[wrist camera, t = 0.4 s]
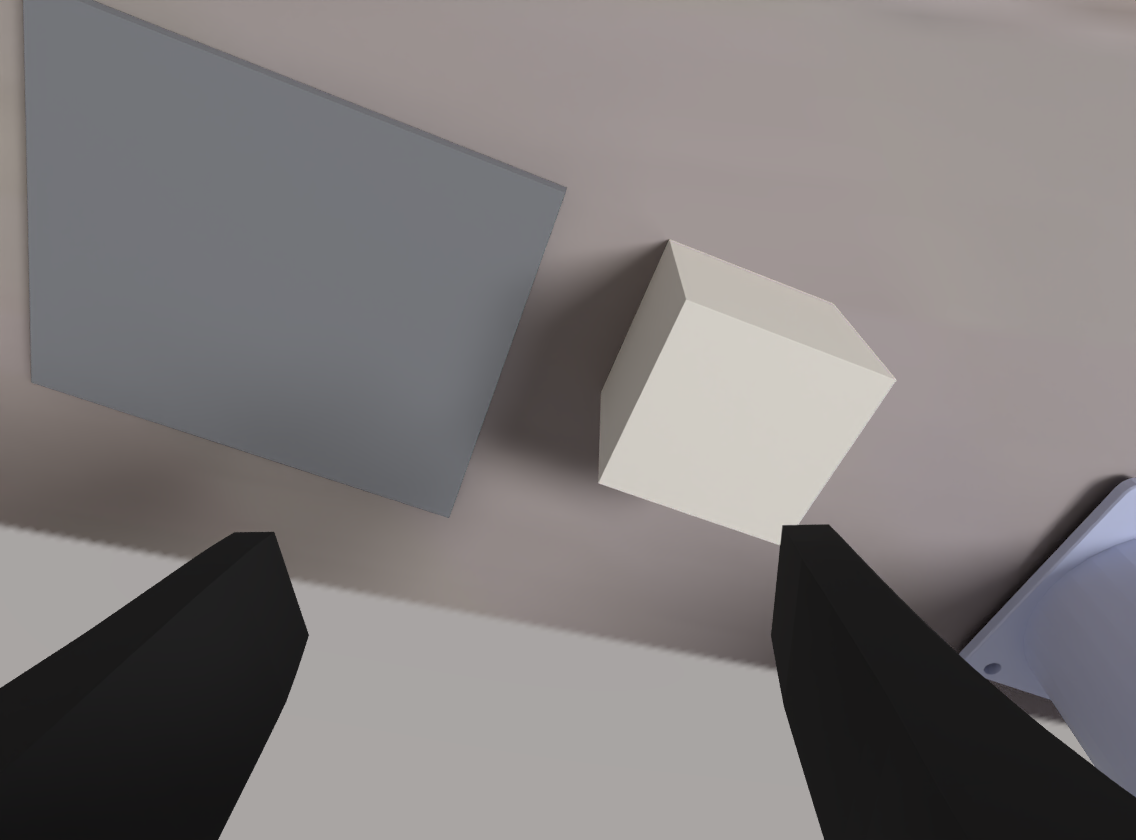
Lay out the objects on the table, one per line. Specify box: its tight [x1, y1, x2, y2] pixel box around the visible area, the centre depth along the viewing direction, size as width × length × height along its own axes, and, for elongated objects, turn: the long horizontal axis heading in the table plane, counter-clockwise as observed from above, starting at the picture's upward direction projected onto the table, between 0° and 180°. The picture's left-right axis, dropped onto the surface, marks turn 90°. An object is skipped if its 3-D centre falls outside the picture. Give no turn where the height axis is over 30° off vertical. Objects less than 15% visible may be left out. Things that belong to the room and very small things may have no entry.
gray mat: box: [23, 0, 567, 518], centre depth 18 cm, size 12×10×1 cm
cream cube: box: [598, 239, 896, 545], centre depth 16 cm, size 4×4×4 cm
